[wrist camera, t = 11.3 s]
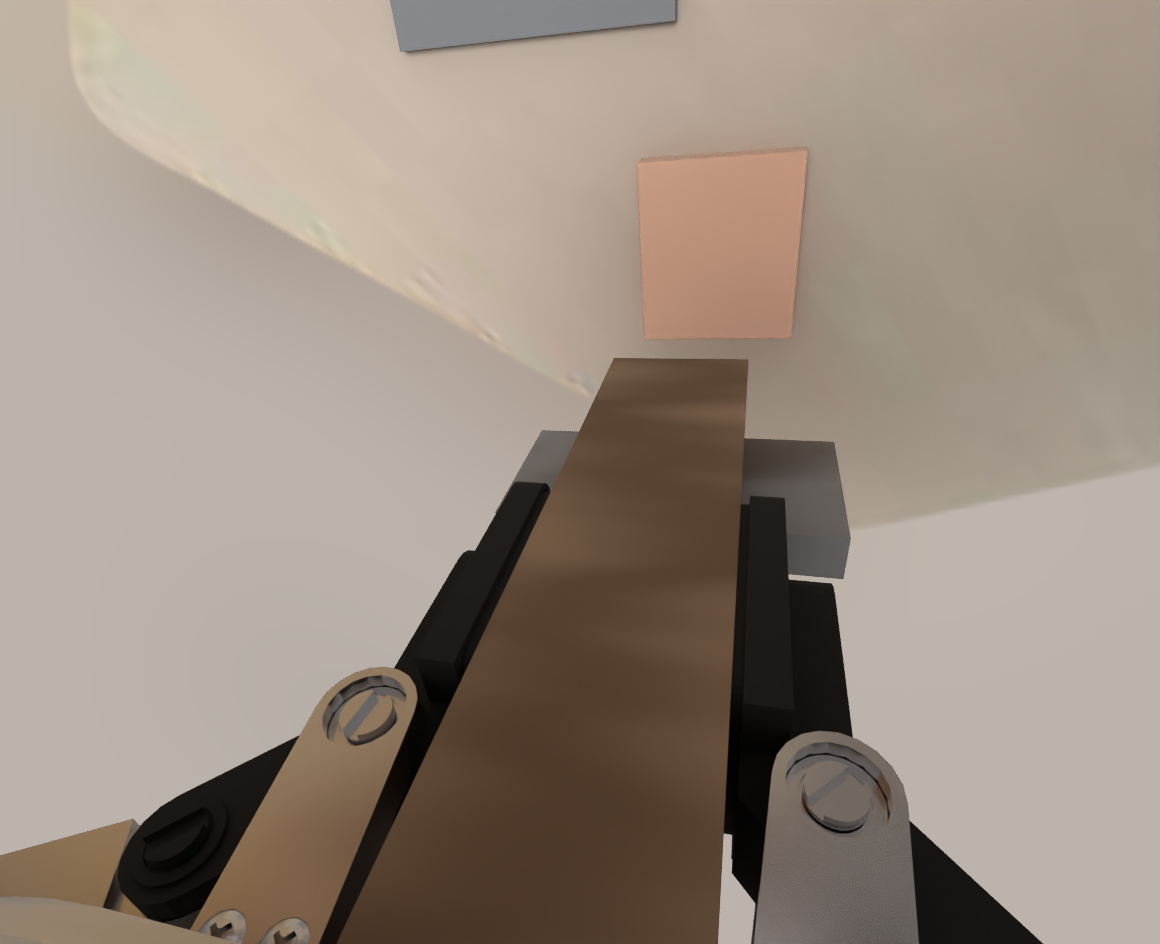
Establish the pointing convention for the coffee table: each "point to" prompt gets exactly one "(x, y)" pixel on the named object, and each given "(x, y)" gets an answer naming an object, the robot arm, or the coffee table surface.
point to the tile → (720, 243)
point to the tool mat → (515, 19)
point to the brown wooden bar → (604, 682)
